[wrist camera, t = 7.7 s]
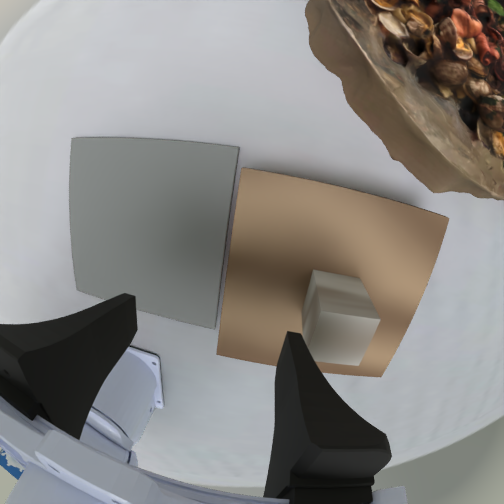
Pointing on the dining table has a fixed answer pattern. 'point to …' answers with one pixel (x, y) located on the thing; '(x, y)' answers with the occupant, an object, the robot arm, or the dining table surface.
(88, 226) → the mat
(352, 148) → the dining table surface
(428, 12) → the food dish
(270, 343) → the lid
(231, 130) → the dining table surface
